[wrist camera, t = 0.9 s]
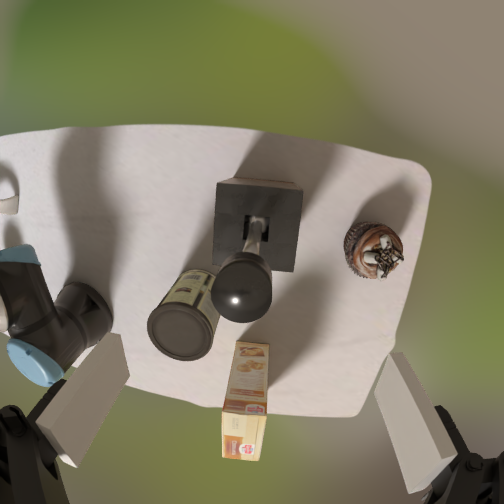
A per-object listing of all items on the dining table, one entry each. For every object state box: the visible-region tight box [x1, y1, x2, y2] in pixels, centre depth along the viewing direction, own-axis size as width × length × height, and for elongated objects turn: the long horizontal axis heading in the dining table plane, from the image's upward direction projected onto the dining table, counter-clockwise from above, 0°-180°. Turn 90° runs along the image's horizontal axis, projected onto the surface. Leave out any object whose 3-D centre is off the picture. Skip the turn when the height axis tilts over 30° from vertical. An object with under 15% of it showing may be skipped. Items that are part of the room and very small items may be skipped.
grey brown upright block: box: [213, 177, 303, 272], centre depth 41 cm, size 10×10×15 cm
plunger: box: [211, 215, 272, 323], centre depth 26 cm, size 7×7×20 cm
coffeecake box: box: [222, 341, 269, 461], centre depth 49 cm, size 15×7×20 cm, turn 176°
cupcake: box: [344, 222, 404, 281], centre depth 44 cm, size 10×10×10 cm
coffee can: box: [147, 269, 220, 361], centre depth 47 cm, size 10×10×14 cm
